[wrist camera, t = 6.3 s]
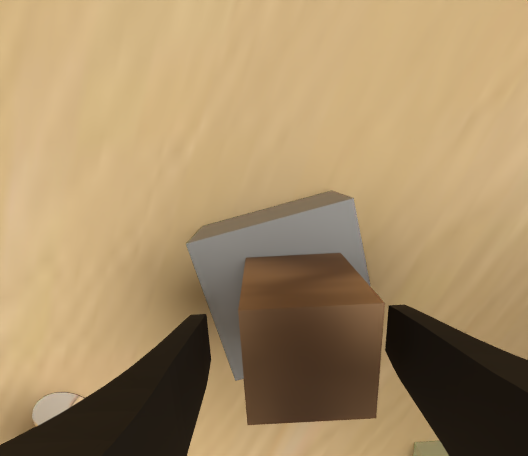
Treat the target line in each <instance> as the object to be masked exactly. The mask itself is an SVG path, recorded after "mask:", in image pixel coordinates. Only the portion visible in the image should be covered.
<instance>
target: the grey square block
mask: <svg viewBox="0 0 528 456" xmlns="http://www.w3.org/2000/svg"><path fill="white" fill-rule="evenodd" d="M186 246H187V248H188V251H189V254H190V257H191V259H192V262H193V265H194V268H195V270H196V273H197V276H198V279H199V281H200V284H201V287H202V290H203V292H204V295H205V298H206V301H207V303H208V306H209V309H210V312H211V315H212V317H213V320H214V323H215V326H216V328H217V331H218V334H219V337H220V339H221V342H222V345H223V348H224V350H225V353H226V356H227V359H228V361H229V364H230V367H231V370H232V372H233V375H234V378H235V381H237V380H241V379H244V376H243V364H242V352H241V340H240V328H239V316H238V308H239V301H240V294H241V287H242V280H243V273H244V267H245V260H246V258H249V257H269V256H288V255H308V254H327V253H341V254H342V255H343V256H344V257H345V258H346V259H347V261H348V262H349V263H350V264H351V265H352V266H353V267H354V269H355V270H356V271H357V272H358V273H359V274H360V275H361V277H362V278H363V279H364V280H365V281H366V282H367V283H368V285H369V286H370V281H369V276H368V271H367V265H366V260H365V255H364V250H363V245H362V240H361V234H360V229H359V224H358V219H357V214H356V209H355V203H354V198H351V197H349V196H346V195H343V194H340V193H337V192H335V191H328V192H325V193H321V194H317V195H314V196H310V197H306V198H303V199H299V200H295V201H292V202H288V203H285V204H281V205H277V206H274V207H270V208H266V209H263V210H259V211H255V212H252V213H248V214H245V215H241V216H237V217H234V218H230V219H226V220H223V221H219V222H215V223H212V224H208V225H205V226H202V227H201V228H200V229H199V230H198V231H197V233H196V234H195V235H194V236H193V237H192V238H191V239H190V240H189V241H188V242H187V243H186ZM370 287H371V286H370Z"/></svg>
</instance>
